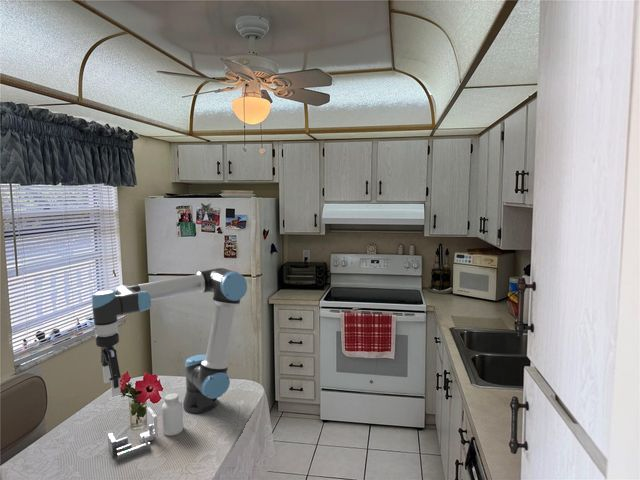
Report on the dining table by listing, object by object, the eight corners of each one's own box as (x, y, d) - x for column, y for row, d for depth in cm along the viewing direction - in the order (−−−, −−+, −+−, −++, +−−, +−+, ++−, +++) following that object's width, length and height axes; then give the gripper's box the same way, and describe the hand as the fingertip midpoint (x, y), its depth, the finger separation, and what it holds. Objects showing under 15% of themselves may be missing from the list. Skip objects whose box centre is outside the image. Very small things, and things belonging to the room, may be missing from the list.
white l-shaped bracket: (151, 431, 169) (149, 406, 167) (160, 445, 159) (159, 419, 158) (137, 435, 165) (136, 411, 164) (146, 450, 156) (145, 424, 155)
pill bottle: (162, 437, 165) (160, 402, 163) (163, 426, 172) (162, 392, 171) (182, 434, 167) (181, 399, 165) (183, 424, 175) (182, 390, 173)
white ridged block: (142, 436, 166) (142, 422, 165) (150, 449, 157) (149, 434, 157) (108, 448, 158) (107, 433, 157) (115, 462, 150) (114, 447, 149)
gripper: (89, 327, 158) (94, 379, 161) (102, 345, 139) (108, 405, 141) (110, 323, 163) (115, 374, 165) (126, 340, 143) (131, 397, 146)
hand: (112, 388), depth 153 cm, fingers open, 13 cm apart
